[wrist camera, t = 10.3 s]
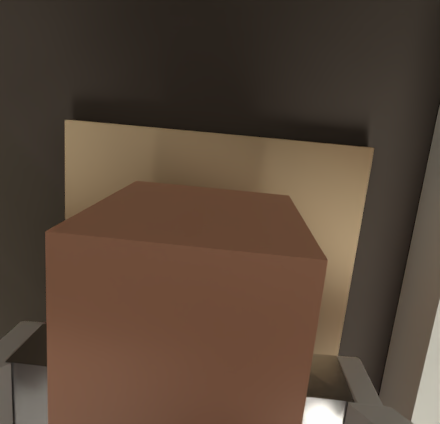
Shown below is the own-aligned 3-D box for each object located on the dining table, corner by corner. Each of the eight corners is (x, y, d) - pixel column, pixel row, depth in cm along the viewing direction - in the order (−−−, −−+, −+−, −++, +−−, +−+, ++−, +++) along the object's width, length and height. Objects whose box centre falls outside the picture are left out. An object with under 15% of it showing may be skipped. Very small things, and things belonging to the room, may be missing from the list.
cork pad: (323, 405, 15) (327, 416, 15) (72, 376, 16) (65, 386, 15) (368, 146, 13) (374, 148, 13) (72, 120, 14) (64, 119, 13)
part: (262, 402, 13) (274, 596, 8) (128, 386, 13) (49, 566, 8) (289, 195, 12) (327, 260, 6) (136, 180, 12) (44, 231, 6)
